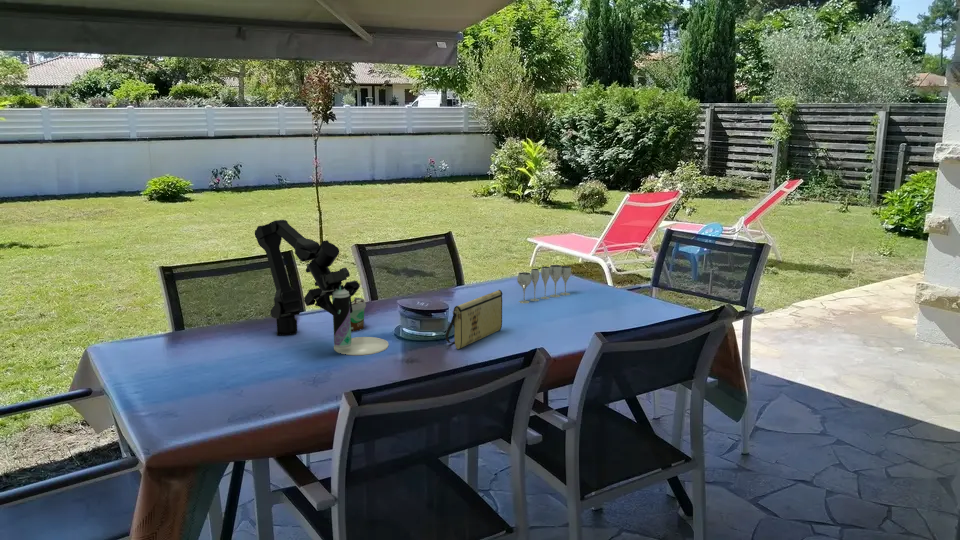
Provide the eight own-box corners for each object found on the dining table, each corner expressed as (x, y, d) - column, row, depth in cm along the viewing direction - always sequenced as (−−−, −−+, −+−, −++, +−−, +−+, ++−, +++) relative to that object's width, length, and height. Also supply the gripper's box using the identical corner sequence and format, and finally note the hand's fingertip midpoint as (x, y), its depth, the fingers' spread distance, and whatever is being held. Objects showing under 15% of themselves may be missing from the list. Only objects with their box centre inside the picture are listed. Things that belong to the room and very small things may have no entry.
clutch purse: (488, 327, 265) (488, 287, 262) (504, 330, 262) (505, 289, 259) (440, 348, 241) (439, 304, 238) (457, 352, 237) (456, 307, 234)
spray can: (338, 348, 233) (335, 287, 228) (331, 344, 237) (328, 284, 233) (354, 345, 236) (352, 285, 231) (347, 341, 240) (344, 282, 236)
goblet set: (564, 292, 317) (565, 262, 314) (573, 294, 313) (574, 264, 310) (514, 301, 301) (514, 270, 298) (523, 304, 296) (523, 272, 294)
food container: (359, 333, 258) (358, 306, 256) (343, 332, 259) (342, 305, 257) (371, 324, 270) (370, 297, 267) (356, 323, 271) (355, 296, 269)
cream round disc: (335, 357, 232) (335, 355, 232) (332, 340, 249) (331, 339, 249) (391, 352, 237) (391, 351, 237) (384, 336, 254) (384, 335, 254)
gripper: (307, 264, 226) (329, 305, 222) (355, 256, 240) (378, 294, 235) (294, 285, 233) (315, 325, 228) (342, 276, 247) (363, 313, 242)
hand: (344, 314), depth 233 cm, fingers closed on spray can, 5 cm apart
